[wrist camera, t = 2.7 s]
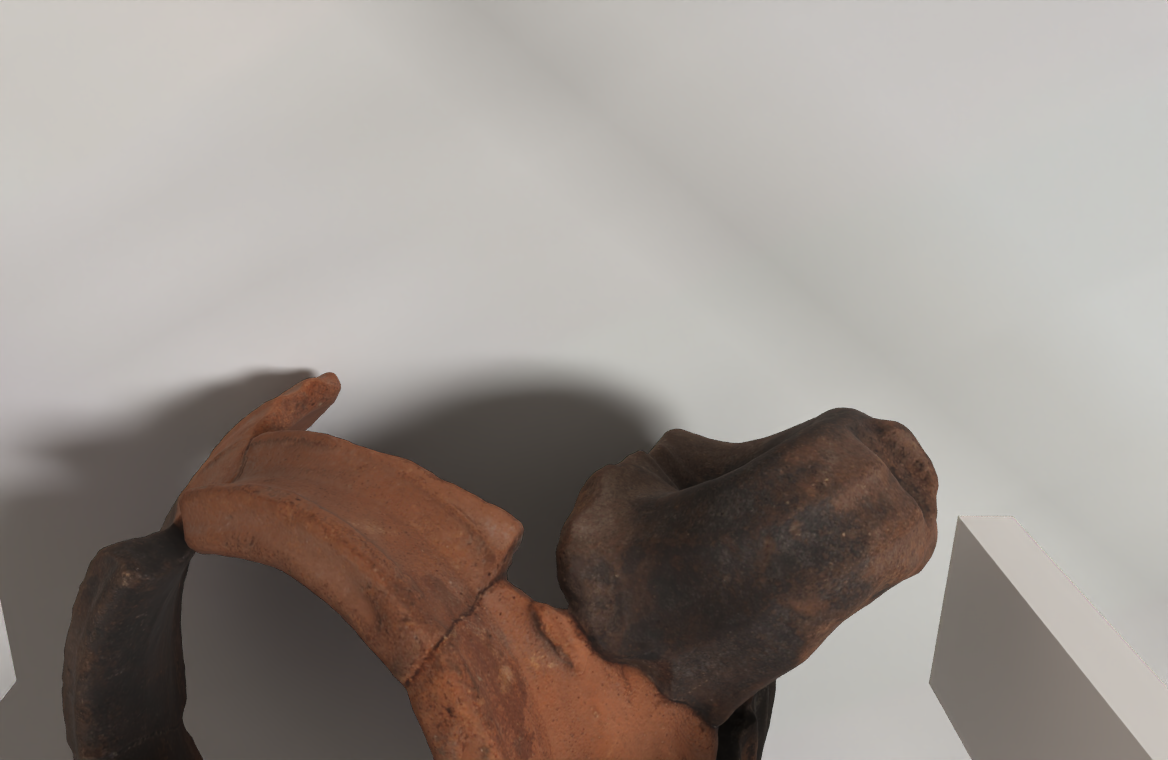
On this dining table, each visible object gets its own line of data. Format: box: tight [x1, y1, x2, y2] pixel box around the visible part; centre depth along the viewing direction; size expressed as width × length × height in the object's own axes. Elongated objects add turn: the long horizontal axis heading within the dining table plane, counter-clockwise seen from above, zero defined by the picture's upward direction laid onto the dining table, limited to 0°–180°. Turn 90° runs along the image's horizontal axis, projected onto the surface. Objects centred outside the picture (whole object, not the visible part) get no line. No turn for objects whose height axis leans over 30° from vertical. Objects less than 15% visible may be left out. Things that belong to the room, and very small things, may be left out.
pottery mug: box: [62, 372, 938, 760], centre depth 15 cm, size 12×10×8 cm
